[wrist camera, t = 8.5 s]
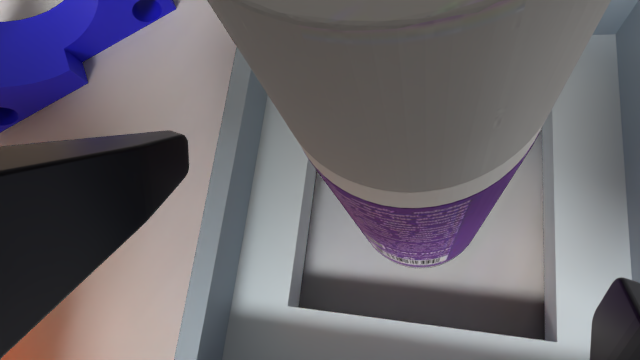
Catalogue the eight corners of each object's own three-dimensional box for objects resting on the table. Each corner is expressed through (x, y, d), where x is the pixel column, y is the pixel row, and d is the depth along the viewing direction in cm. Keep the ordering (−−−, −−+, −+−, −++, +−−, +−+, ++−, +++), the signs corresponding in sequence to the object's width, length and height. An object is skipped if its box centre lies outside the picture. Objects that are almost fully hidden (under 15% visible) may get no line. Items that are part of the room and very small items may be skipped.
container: (506, 213, 17) (919, -302, 3) (415, 294, 17) (372, 181, 3) (420, 133, 18) (408, -434, 5) (336, 206, 18) (60, -144, 4)
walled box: (215, 375, 17) (168, 389, 14) (273, 46, 21) (246, -3, 18) (651, 454, 14) (722, 498, 10) (621, 38, 18) (666, -24, 14)
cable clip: (-3, 136, 24) (-132, 82, 18) (-14, 75, 26) (-136, 8, 20) (186, 30, 23) (111, -60, 18) (162, -26, 25) (87, -125, 19)
